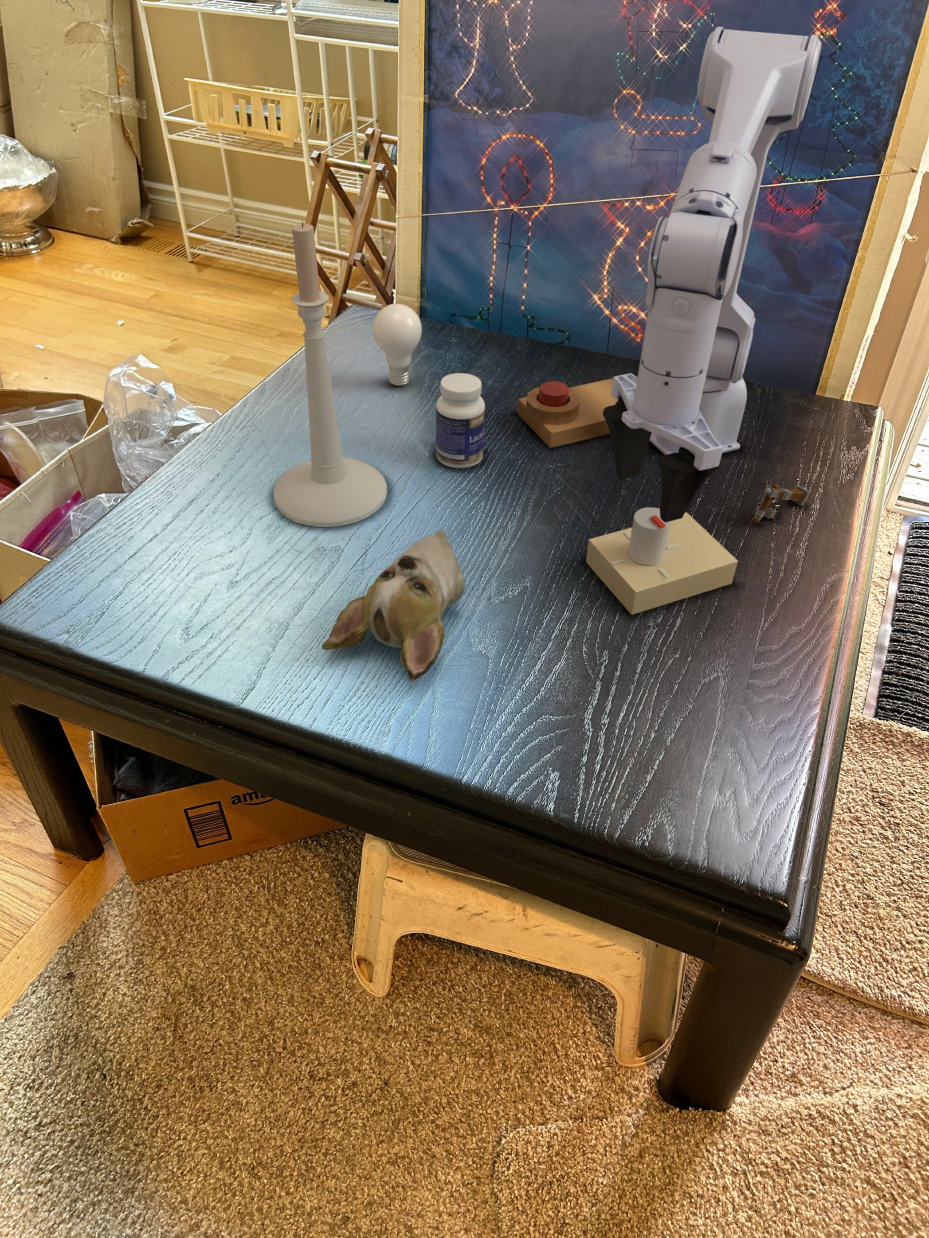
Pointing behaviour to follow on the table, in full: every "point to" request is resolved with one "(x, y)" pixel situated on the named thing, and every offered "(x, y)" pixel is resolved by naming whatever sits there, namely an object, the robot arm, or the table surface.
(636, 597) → the rotary dial block
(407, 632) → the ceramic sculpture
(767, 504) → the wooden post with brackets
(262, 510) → the table surface
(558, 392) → the stop button
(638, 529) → the tap knob
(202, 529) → the table surface
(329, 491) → the candlestick
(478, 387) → the pill bottle
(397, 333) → the lightbulb
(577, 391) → the button block
